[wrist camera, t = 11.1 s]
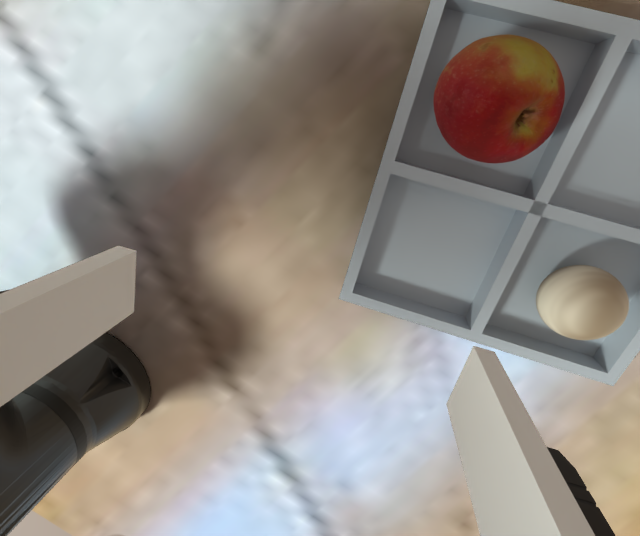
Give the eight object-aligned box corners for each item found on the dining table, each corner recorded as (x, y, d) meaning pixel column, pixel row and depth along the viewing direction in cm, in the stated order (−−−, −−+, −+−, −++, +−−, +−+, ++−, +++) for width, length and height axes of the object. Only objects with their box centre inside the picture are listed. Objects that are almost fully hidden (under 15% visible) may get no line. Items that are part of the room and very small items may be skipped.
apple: (439, 171, 30) (454, 183, 23) (421, 67, 28) (431, 42, 20) (539, 146, 28) (591, 150, 20) (529, 31, 26) (584, -11, 18)
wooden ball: (513, 305, 33) (538, 340, 27) (545, 246, 30) (579, 271, 25) (579, 326, 32) (618, 365, 27) (617, 267, 30) (668, 297, 24)
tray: (343, 284, 36) (338, 298, 33) (433, -7, 27) (438, -27, 23) (592, 362, 34) (613, 386, 31) (787, 77, 25) (846, 68, 21)
